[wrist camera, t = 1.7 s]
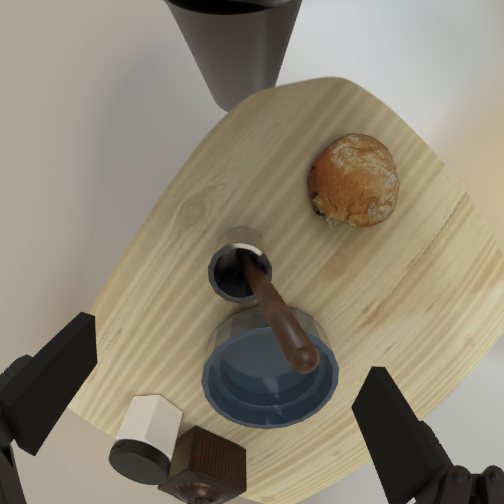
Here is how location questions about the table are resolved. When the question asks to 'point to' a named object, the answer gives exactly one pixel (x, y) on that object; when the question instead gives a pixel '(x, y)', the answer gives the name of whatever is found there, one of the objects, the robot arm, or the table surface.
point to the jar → (146, 440)
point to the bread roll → (354, 182)
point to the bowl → (265, 373)
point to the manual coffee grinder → (206, 469)
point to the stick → (279, 316)
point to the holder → (237, 264)
